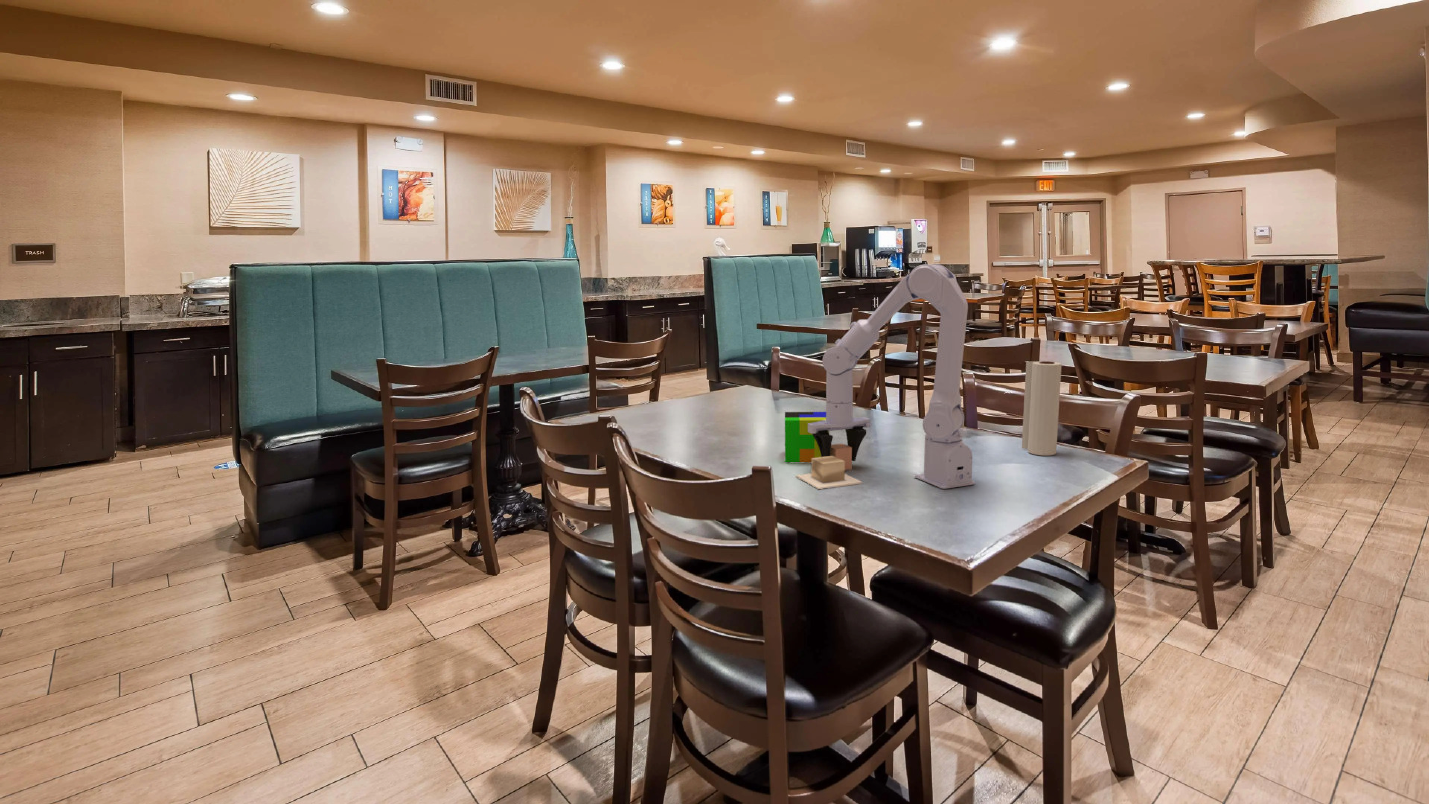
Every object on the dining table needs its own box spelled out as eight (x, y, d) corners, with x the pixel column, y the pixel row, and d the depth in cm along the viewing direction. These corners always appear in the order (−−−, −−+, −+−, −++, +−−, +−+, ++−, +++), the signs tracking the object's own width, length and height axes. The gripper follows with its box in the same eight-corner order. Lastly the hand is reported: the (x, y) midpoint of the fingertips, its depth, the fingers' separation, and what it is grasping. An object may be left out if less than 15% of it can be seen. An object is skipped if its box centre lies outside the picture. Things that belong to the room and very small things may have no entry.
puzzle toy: (826, 452, 176) (827, 411, 175) (829, 463, 167) (829, 420, 165) (785, 452, 177) (784, 412, 176) (785, 463, 168) (784, 420, 166)
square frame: (861, 483, 150) (861, 481, 150) (818, 489, 146) (818, 487, 146) (836, 471, 159) (836, 469, 159) (795, 477, 156) (795, 475, 155)
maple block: (844, 479, 151) (844, 461, 151) (823, 482, 150) (823, 463, 149) (832, 473, 156) (832, 455, 155) (811, 476, 154) (811, 458, 153)
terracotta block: (851, 469, 161) (851, 447, 160) (835, 471, 159) (835, 449, 159) (842, 465, 165) (842, 443, 164) (826, 467, 163) (826, 445, 162)
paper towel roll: (1060, 456, 168) (1066, 363, 164) (1034, 456, 168) (1039, 364, 164) (1047, 448, 175) (1052, 359, 171) (1021, 449, 175) (1026, 360, 171)
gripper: (858, 395, 166) (857, 454, 168) (801, 401, 161) (801, 461, 163) (875, 400, 159) (874, 461, 161) (816, 406, 154) (816, 468, 156)
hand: (839, 461), depth 162 cm, fingers open, 6 cm apart
